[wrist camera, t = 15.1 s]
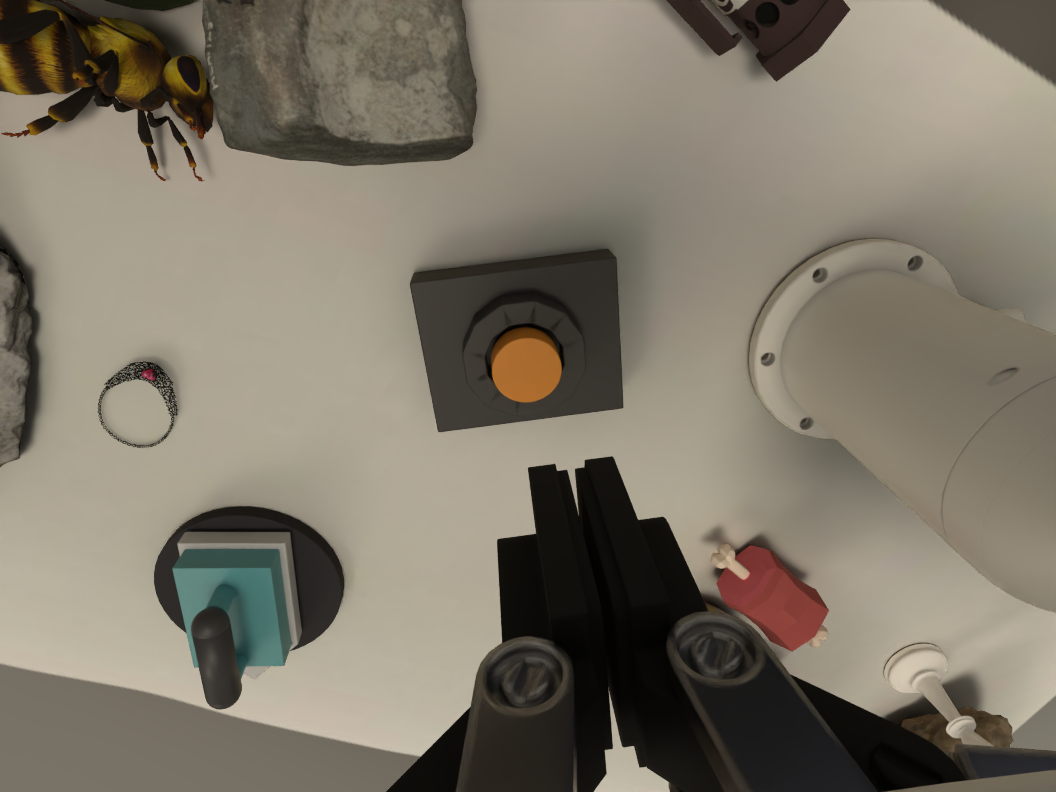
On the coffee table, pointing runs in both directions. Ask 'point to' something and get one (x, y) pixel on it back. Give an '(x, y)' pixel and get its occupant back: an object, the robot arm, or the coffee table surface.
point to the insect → (99, 70)
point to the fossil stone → (13, 356)
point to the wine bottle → (151, 3)
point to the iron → (237, 606)
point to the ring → (149, 375)
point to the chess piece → (930, 686)
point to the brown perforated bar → (768, 27)
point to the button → (525, 364)
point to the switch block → (512, 302)
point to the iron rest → (310, 556)
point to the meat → (771, 596)
